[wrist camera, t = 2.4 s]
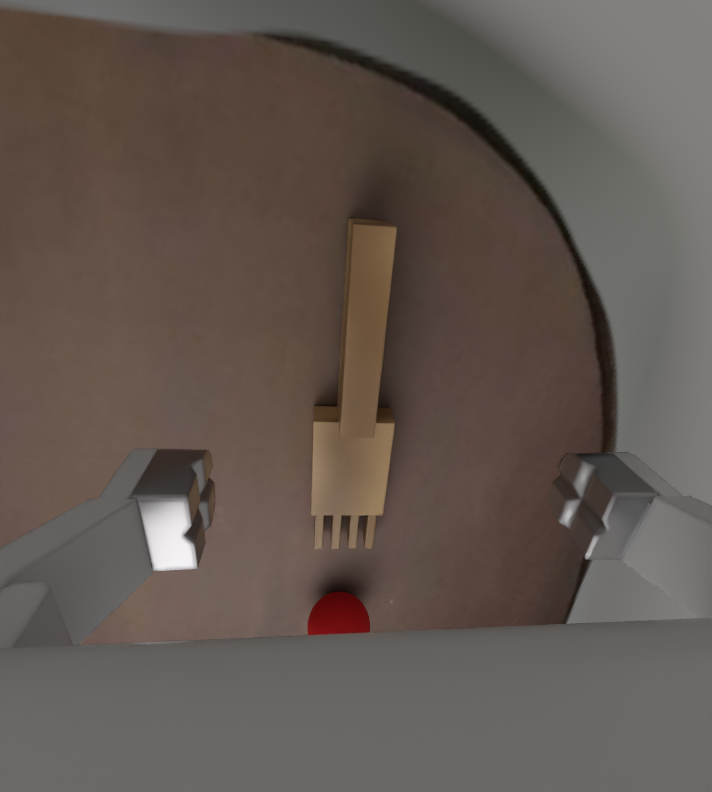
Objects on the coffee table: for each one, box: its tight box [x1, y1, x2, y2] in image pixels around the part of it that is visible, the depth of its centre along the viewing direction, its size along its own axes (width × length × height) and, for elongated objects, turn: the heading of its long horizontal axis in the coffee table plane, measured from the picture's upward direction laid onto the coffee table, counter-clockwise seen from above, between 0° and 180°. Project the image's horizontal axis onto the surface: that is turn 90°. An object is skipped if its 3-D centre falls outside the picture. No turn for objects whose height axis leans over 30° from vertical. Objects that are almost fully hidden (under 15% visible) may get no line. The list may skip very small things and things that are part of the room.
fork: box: [311, 218, 397, 549], centre depth 20 cm, size 4×18×3 cm, turn 176°
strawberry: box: [308, 592, 370, 635], centre depth 26 cm, size 4×4×4 cm
